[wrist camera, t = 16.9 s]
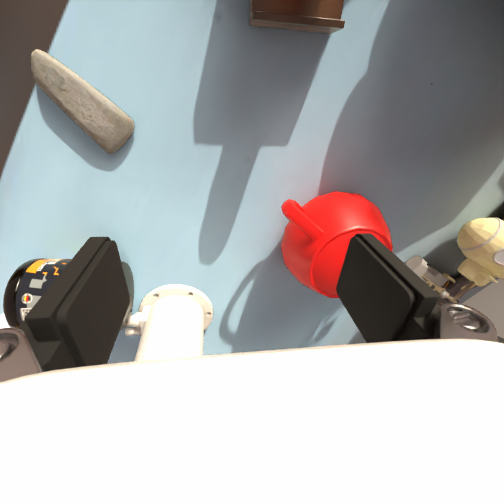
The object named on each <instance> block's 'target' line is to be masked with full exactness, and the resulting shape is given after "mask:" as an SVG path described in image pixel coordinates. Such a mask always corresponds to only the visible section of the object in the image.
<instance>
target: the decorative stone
mask: <svg viewBox="0 0 504 504" xmlns="http://www.w3.org/2000/svg"><path fill="white" fill-rule="evenodd" d="M31 65H32V66H31V68H32V72H33V76H34V80H35V82H36V83H37V84H38V86H39V87H40V88H41V89H42V90H43V91H44V92H45V93H46V94H47V95H48V96H49V97H50V98H51V99H52V100H53V101H54V102H55V103H56V104H57V105H58V106H59V107H60V108H61V109H62V110H63V111H64V112H65V113H66V114H67V115H68V116H69V117H70V118H71V119H72V120H73V121H74V122H75V123H77V124H78V125H79V126H80V127H81V128H82V129H83V130H84V131H85V132H86V133H87V134H88V135H89V136H90V137H91V138H92V139H94V141H95V142H96V143H97V144H98V145H99V146H100V147H102V148H103V149H104V150H105V151H106V152H107V153H109V154H111V153H114V152H115V151H117V150H118V149H119V148H120V147H121V146H122V145H124V143H125V142H126V141H127V140H128V139H129V137H130V136H131V134H132V133H133V131H134V122H133V120H132V119H131V118H130V117H129V116H128V115H127V114H125V113H124V112H123V111H122V110H121V109H120V108H118V107H117V106H116V105H115V104H114V103H113V102H111V101H110V100H109V99H108V98H106V97H105V96H104V95H103V94H101V93H100V92H99V91H98V90H96V89H95V88H94V87H93V86H91V85H90V84H88V83H87V82H86V81H85V80H83V79H82V78H81V77H79V76H78V75H77V74H76V73H74V72H73V71H72V70H70V69H69V68H67V67H66V66H65V65H63V64H62V63H60V62H59V61H58V60H56V59H55V58H53V57H52V56H50V55H49V54H47V53H45V52H43V51H41V50H38V49H36V50H35V51H33V52H32V54H31Z"/></svg>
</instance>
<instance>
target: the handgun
mask: <svg viewBox="0 0 504 504" xmlns="http://www.w3.org/2000/svg"><path fill="white" fill-rule="evenodd" d="M405 264H406V265H407V266H408V267H409V268H410V269H411V270H412V271H413V272H414V273H416V274H417V275H418V276H419V277H420V278H421V279H422V280H423V281H424V282H425V283H427V284H428V285H429V286H430V287H431V288H432V289H433V290H434V291H435V292H436V293H438V294H439V295H440V294H441V292H443V291H447V292H448V295H449V296H451V297H454V296H456V295H457V294H458V293H459V292H460V291H461V290H462V289H463V288H464V287H465V286H466V285H467V284H468V283H469V282H470V280H469V279H467V278H466V277H464V276H463V275H461V276H459V277H457V278H454V279H453V278H452V277H451V276H449V275H448V274H447V273H443V274H441V273H440V272H439V271H437V270H436V269H435V268H433V267H432V266H431V265H427V262H426V261H425V260H424V259H422V258H421V257H420V256H418V255H417V256H413V257H412V258H411V259H410V260H408V261H407V262H406V263H405ZM448 279H450V280H448ZM444 283H445V284H444ZM443 284H444V285H443ZM476 286H478V285H476V284H475V283H474V284H473V285H472V286H471V287H470V288H469V289H468V290H470V289H472V288H474V287H476ZM468 290H467V291H468ZM450 302H452V303H459V301H458V299H457V300H455V301H451V300H449V299H446V298H442V297H440V299H439V300H438V302H437V304H438V305H439V306H440V307H441V306H442V305H443V304H445V303H450Z"/></svg>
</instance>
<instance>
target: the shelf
mask: <svg viewBox="0 0 504 504" xmlns="http://www.w3.org/2000/svg"><path fill="white" fill-rule="evenodd" d="M343 3H344V0H250V14H249V26H257V27H267V28H277V29H287V30H298V31H308V32H318V33H328V34H332V33H334V32H336V31H338V30H340V29H343V28H344V23H345V20H340V19H341V14H342V8H343Z"/></svg>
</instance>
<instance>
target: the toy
mask: <svg viewBox="0 0 504 504" xmlns="http://www.w3.org/2000/svg"><path fill="white" fill-rule="evenodd" d="M458 247H459V249H460V250H461V251H462V253H463V254H464V255H465V257H466V259H465V260H464V261H463V262H462V263H461V265H460V266H459V267H458V272H459V273H461V274H462V275H463V276H464V277H466V278H467V279H469V280H470V282H469V283H468V284H467V285H466V286H465V287H464V288H463V289H462V290H461V291H460V292H459V293H458V294H457V295H456V296H454V297H451V296H449V295H448V292H447V291H443V292H441V294H440V296H441V297H442V298H446V299H449V300H451V301H455V300H457V299H459V298H460V297H461V296H462V295H463V294H464V293H465V292H466V291H467V290H468V289H469V288H470V287H471V286H472V285H473V284H474V283H475V284H476V285H478V286H480V287H483V286H485V285H486V284H488V283H489V282H490V281H493V282H496V283H498V282H497V281H496V280H495V279H494V278H495V277H497V278H500V279H503V280H504V221H503V220H501V219H499V218H495V217H494V218H477V219H474V220H472V221H469V222H467V223H466V224H464V225H463V227H462V228H461V230H460V231H459V234H458Z"/></svg>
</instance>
